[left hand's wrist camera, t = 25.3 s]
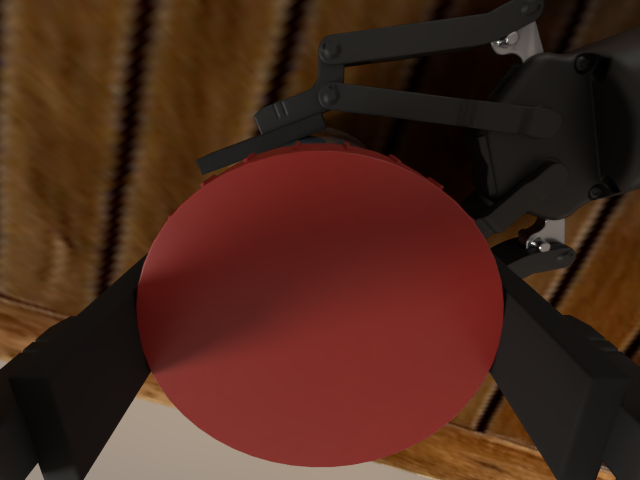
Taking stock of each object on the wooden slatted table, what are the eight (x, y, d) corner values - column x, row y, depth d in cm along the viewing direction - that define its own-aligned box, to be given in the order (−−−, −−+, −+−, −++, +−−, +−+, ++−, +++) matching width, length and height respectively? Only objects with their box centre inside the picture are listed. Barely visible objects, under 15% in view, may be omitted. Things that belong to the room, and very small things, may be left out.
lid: (552, 262, 11) (589, 288, 10) (359, 466, 14) (363, 510, 13) (261, 60, 9) (250, 52, 8) (107, 345, 12) (77, 379, 11)
